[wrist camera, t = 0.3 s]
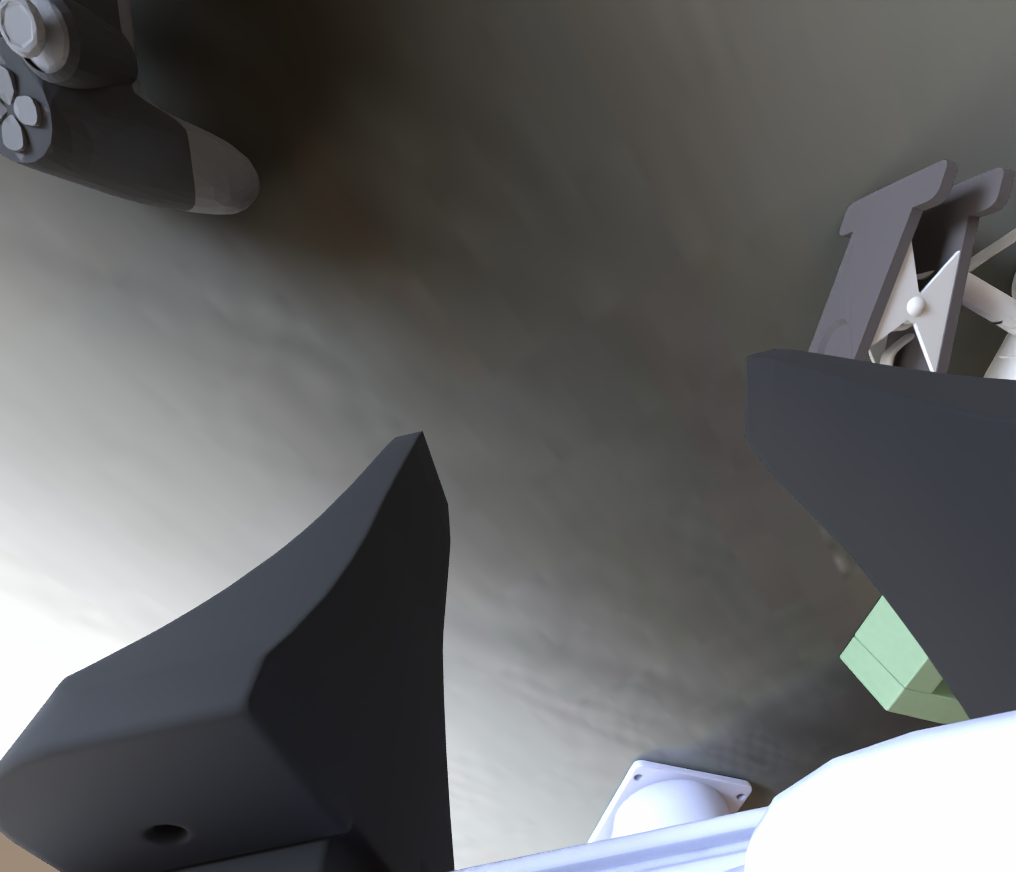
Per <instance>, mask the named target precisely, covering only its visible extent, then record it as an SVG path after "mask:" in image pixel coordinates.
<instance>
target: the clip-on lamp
mask: <svg viewBox="0 0 1016 872" xmlns="http://www.w3.org/2000/svg"><path fill="white" fill-rule="evenodd" d="M957 171H958V165H957V164H956V163H953V162H950V161H947V160H941V161H939V162H937V163H935V164H933V165H930V166H928V167H926V168H924V169H922V170H920V171H918V172H916V173H914V174H912V175H910V176H908V177H905V178H903V179H901V180H899V181H897V182H895V183H893V184H891V185H889V186H887V187H885V188H882V189H880V190H878V191H876V192H874V193H872V194H870V195H868V196H866V197H864V198H862V199H859V200H857V201H855V202H854V203H852V204H851V205H850V206H849V207H848V209H847V211H846V213H845V216H844V219H843V222H842V225H841V228H840V235H842V236H845V237H848V238H851V239H850V242H849V244H848V247H847V250H846V252H845V255H844V258H843V260H842V263H841V266H840V268H839V271H838V274H837V276H836V279H835V282H834V284H833V287H832V290H831V292H830V295H829V298H828V300H827V303H826V306H825V308H824V311H823V314H822V316H821V319H820V322H819V324H818V327H817V330H816V332H815V335H814V338H813V340H812V343H811V346H810V348H809V351H808V352H813V353H819V354H825V355H831V356H837V357H843V358H849V359H855V360H860V361H865V360H866V357H867V355H868V353H869V355H870V358H871V361H872V363H878V364H884V365H890V366H897V367H903V368H910V369H917V370H925V371H932V372H940V373H948V368H949V363H950V358H951V353H952V349H953V344H954V339H955V334H956V329H957V324H958V319H959V315H960V310H961V305H963V306H965V307H967V308H968V309H970V310H972V311H973V312H975V313H977V314H979V315H980V316H982V317H984V318H986V319H987V320H989V321H990V322H992V323H994V324H995V325H997V326H999V327H1001V328H1002V329H1004V330H1005V331H1007V332H1008V334H1007V335H1006V337H1005V339H1004V341H1003V343H1002V344H1001V346H1000V348H999V350H998V352H997V353H996V355H995V357H994V359H993V361H992V362H991V364H990V366H989V368H988V370H987V371H986V373H985V375H984V378H997V379H1010V380H1016V273H1015V275H1014V278H1013V282H1012V297H1013V298H1012V297H1010V296H1008V295H1007V294H1005V293H1003V292H1002V291H1000V290H998V289H997V288H995V287H993V286H991V285H990V284H988V283H986V282H985V281H983V280H981V279H979V278H978V277H976V276H974V275H973V274H971V273H970V272H971V271H973V270H974V269H975V268H977V267H978V266H980V265H981V264H982V263H984V262H985V261H986V260H988V259H989V258H991V257H992V256H994V255H996V254H997V253H999V252H1000V251H1002V250H1003V249H1005V248H1006V247H1008V246H1009V245H1011V244H1013V243H1014V242H1016V229H1014V230H1012V231H1011V232H1009V233H1008V234H1006V235H1005V236H1003V237H1002V238H1000V239H999V240H997V241H996V242H994V243H993V244H991V245H989V246H988V247H986V248H985V249H983V250H982V251H980V252H979V253H977V254H976V255H974V256H973V257H972V258H971V256H972V251H973V247H974V242H975V237H976V232H977V227H978V222H979V217H982V216H985V215H988V214H991V213H994V212H997V211H999V210H1000V209H1002V208H1003V207H1004V206H1005V205H1006V203H1007V201H1008V199H1009V197H1010V193H1011V189H1012V185H1013V181H1014V177H1015V174H1014V171H1012V170H1010V169H1005V168H995V169H993V170H990V171H988V172H985V173H983V174H980V175H978V176H976V177H973V178H971V179H968V180H966V181H963V182H961V183H959V184H956V185H954V186H953V183H954V180H955V177H956V174H957Z"/></svg>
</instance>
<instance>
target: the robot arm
mask: <svg viewBox="0 0 1016 872" xmlns="http://www.w3.org/2000/svg"><path fill="white" fill-rule="evenodd" d="M744 437H745V438H746V440H747V441H748V443H749V444H750V446H751V447H752V449H753V450H754V452H755V453H756V455H757V456H758V457H759V459H760V460H761V461H762V463H763V464H764V465H765V467H766V468H767V469H768V471H769V472H770V473H771V474H772V475H773V476H774V477H775V478H776V479H777V480H778V481H779V482H780V483H781V484H782V485H783V486H784V487H785V489H786V490H787V491H788V492H789V493H790V494H791V495H792V496H793V497H794V498H795V499H796V500H797V501H798V502H799V503H800V504H801V505H802V506H803V507H804V508H805V509H806V510H807V511H808V512H809V513H810V514H811V515H812V516H813V517H814V518H815V519H816V520H817V521H818V522H819V523H820V524H821V525H822V526H823V527H824V528H825V529H826V530H827V531H828V532H829V533H830V534H831V535H832V536H833V537H834V538H835V539H836V540H837V541H838V542H839V543H840V545H841V546H842V547H843V548H844V549H845V550H846V551H847V552H848V553H849V555H850V556H851V557H852V558H853V559H854V560H855V561H856V562H857V564H858V565H859V566H860V568H861V569H862V570H863V571H864V573H865V574H866V575H867V576H868V578H869V579H870V580H871V581H872V583H873V584H874V585H875V587H876V588H877V589H878V590H879V592H880V593H881V594H882V595H883V597H884V598H885V599H886V600H887V602H888V603H889V604H890V606H891V607H892V608H893V610H894V611H895V613H896V614H897V615H898V617H899V618H900V619H901V621H902V622H903V623H904V625H905V626H906V627H907V629H908V630H909V632H910V633H911V634H912V636H913V637H914V638H915V640H916V641H917V642H918V644H919V645H920V646H921V648H922V649H923V651H924V652H925V654H926V655H927V656H928V658H929V659H930V661H931V662H932V664H933V665H934V667H935V668H936V670H937V671H938V673H939V674H940V675H941V677H942V678H943V680H944V681H945V683H946V684H947V686H948V687H949V689H950V690H951V691H952V693H953V694H954V696H955V697H956V699H957V700H958V702H959V703H960V705H961V706H962V708H963V709H964V711H965V712H966V714H967V716H968V717H969V719H970V720H966V721H962V722H957V723H952V724H947V725H942V726H938V727H933V728H928V729H923V730H918V731H914V732H910V733H907V734H904V735H901V736H898V737H896V738H893V739H890V740H887V741H884V742H881V743H878V744H875V745H872V746H869V747H866V748H863V749H860V750H857V751H854V752H851V753H848V754H845V755H842V756H839V757H836V758H833V759H832V760H830V761H829V762H827V763H825V764H824V765H822V766H821V767H819V768H818V769H816V770H815V771H813V772H812V773H810V774H809V775H807V776H806V777H804V778H803V779H801V780H800V781H798V782H797V783H795V784H793V785H792V786H790V787H789V788H787V789H786V790H784V791H783V792H781V793H780V794H778V795H777V796H775V797H774V799H773V800H772V802H771V804H770V805H769V806H767V807H762V808H757V809H752V810H747V811H743V812H738V810H739V809H740V807H741V806H742V804H743V803H744V802H745V800H746V799H747V797H748V796H749V795H750V793H751V791H752V787H751V785H750V783H749V782H748V781H746V780H742V779H736V778H731V777H726V776H721V775H716V774H711V773H706V772H701V771H696V770H691V769H686V768H680V767H675V766H670V765H665V764H660V763H655V762H650V761H645V760H638V761H636V762H634V763H633V765H632V766H631V768H630V770H629V772H628V773H627V775H626V777H625V778H624V780H623V782H622V784H621V785H620V787H619V789H618V791H617V792H616V794H615V796H614V798H613V799H612V801H611V803H610V805H609V806H608V808H607V810H606V812H605V813H604V815H603V817H602V818H601V820H600V822H599V824H598V825H597V827H596V829H595V831H594V832H593V834H592V836H591V838H590V839H589V841H588V843H587V844H582V845H577V846H572V847H567V848H562V849H558V850H553V851H548V852H543V853H538V854H533V855H528V856H523V857H519V858H514V859H509V860H504V861H499V862H494V863H489V864H484V865H480V866H475V867H470V868H465V869H460V870H455V871H454V858H453V845H452V832H451V819H450V805H449V788H448V772H447V755H446V734H445V711H444V683H443V629H444V616H445V604H446V592H447V580H448V567H449V554H450V526H449V512H448V503H447V500H446V497H445V494H444V491H443V489H442V486H441V483H440V480H439V477H438V474H437V471H436V468H435V466H434V463H433V460H432V457H431V454H430V451H429V448H428V445H427V443H426V440H425V437H424V434H423V431H421V432H417V433H413V434H408V435H404V436H400V437H396V438H395V439H393V440H392V441H391V442H390V443H389V444H388V445H387V446H386V447H385V448H384V449H383V451H382V452H381V453H380V454H379V455H378V456H377V457H376V458H375V459H374V461H373V462H372V463H371V464H370V465H369V466H368V467H367V468H366V469H365V470H364V472H363V473H362V474H361V475H360V476H359V477H358V478H357V479H356V480H355V481H354V483H353V484H352V485H351V486H350V487H349V488H348V489H347V490H346V491H345V492H344V493H343V494H342V495H341V496H340V497H339V498H338V499H337V500H336V501H335V502H334V503H333V504H332V505H331V506H330V507H329V508H328V509H327V510H326V511H325V512H324V513H323V514H322V515H321V516H320V517H318V518H317V519H316V520H315V521H314V522H313V523H312V524H311V525H310V526H308V527H307V528H306V529H305V530H304V531H303V532H302V533H300V534H299V535H298V536H297V537H295V538H294V539H293V540H292V541H291V542H289V543H288V544H287V545H286V546H284V547H283V548H282V549H281V550H279V551H278V552H277V553H276V554H274V555H273V556H272V557H270V558H269V559H267V560H266V561H264V562H263V563H262V564H260V565H259V566H257V567H256V568H255V569H253V570H252V571H250V572H249V573H248V574H246V575H245V576H243V577H242V578H240V579H239V580H238V581H236V582H235V583H233V584H232V585H231V586H229V587H228V588H226V589H225V590H223V591H221V592H220V593H218V594H217V595H215V596H214V597H212V598H210V599H209V600H207V601H206V602H204V603H202V604H201V605H199V606H198V607H196V608H194V609H193V610H191V611H189V612H187V613H186V614H184V615H182V616H181V617H179V618H177V619H176V620H174V621H172V622H171V623H169V624H167V625H165V626H164V627H162V628H160V629H158V630H156V631H155V632H153V633H151V634H149V635H147V636H146V637H144V638H142V639H140V640H138V641H136V642H134V643H132V644H130V645H128V646H126V647H124V648H123V649H121V650H119V651H117V652H115V653H113V654H111V655H109V656H107V657H105V658H103V659H102V660H100V661H98V662H96V663H94V664H92V665H90V666H88V667H86V668H84V669H82V670H80V671H78V672H76V673H74V674H72V675H70V676H68V677H66V678H65V679H64V680H63V681H62V682H61V683H60V684H59V685H58V687H57V688H56V689H55V691H54V692H53V693H52V695H51V696H50V697H49V699H48V700H47V701H46V703H45V704H44V705H43V707H42V708H41V709H40V710H39V712H38V713H37V714H36V716H35V717H34V718H33V720H32V721H31V722H30V723H29V725H28V726H27V727H26V729H25V730H24V731H23V732H22V734H21V735H20V736H19V738H18V739H17V740H16V741H15V743H14V744H13V745H12V747H11V748H10V749H9V750H8V752H7V753H6V754H5V756H4V757H3V758H2V760H1V761H0V832H1V833H2V834H4V835H5V836H6V837H8V838H9V839H10V840H11V841H13V842H14V843H15V844H17V845H19V846H20V847H22V848H23V849H25V850H26V851H28V852H30V853H31V854H33V855H35V856H36V857H38V858H39V859H41V860H43V861H44V862H46V863H47V864H49V865H51V866H52V867H54V868H56V869H57V870H59V871H60V872H1016V380H1010V379H997V378H984V377H974V376H964V375H955V374H947V373H940V372H932V371H925V370H917V369H910V368H903V367H897V366H890V365H884V364H878V363H872V362H866V361H860V360H855V359H849V358H843V357H837V356H831V355H825V354H819V353H813V352H805V351H798V350H787V349H774V350H769V351H765V352H761V353H757V354H752V355H748V356H747V374H746V405H745V436H744ZM737 812H738V813H737Z"/></svg>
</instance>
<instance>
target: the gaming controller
mask: <svg viewBox="0 0 1016 872" xmlns="http://www.w3.org/2000/svg"><path fill="white" fill-rule="evenodd" d="M0 154H2V155H3V156H5V157H7V158H9V159H10V160H12V161H14V162H17V163H19V164H22V165H24V166H27V167H30V168H32V169H35V170H38V171H41V172H44V173H47V174H50V175H53V176H56V177H59V178H62V179H65V180H68V181H71V182H74V183H77V184H80V185H83V186H86V187H89V188H92V189H95V190H98V191H101V192H104V193H107V194H110V195H114V196H117V197H121V198H124V199H128V200H131V201H135V202H139V203H143V204H149V205H154V206H159V207H164V208H169V209H174V210H180V211H187V212H193V213H205V214H217V215H221V214H236V213H238V212H241V211H244V210H246V209H247V208H248V207H249V206H250V205H251V204H252V203H253V202H254V201H255V199H256V198H257V196H258V194H259V192H260V180H259V176H258V174H257V172H256V170H255V169H254V167H253V165H252V164H251V162H250V160H249V159H248V158H247V157H246V156H244V155H243V154H242V153H241V152H240V151H238V150H237V149H236V148H235V147H234V146H232V145H231V144H229V143H228V142H226V141H225V140H223V139H221V138H219V137H217V136H215V135H213V134H211V133H209V132H207V131H205V130H203V129H201V128H199V127H197V126H195V125H192V124H190V123H188V122H186V121H184V120H182V119H179V118H177V117H175V116H173V115H171V114H169V113H167V112H165V111H164V110H162V109H160V108H159V107H157V106H156V105H154V104H153V103H152V102H150V101H149V100H148V99H147V98H146V97H145V95H144V94H143V93H142V91H141V90H140V85H139V80H138V66H137V59H136V53H135V44H134V34H133V26H132V17H131V9H130V1H129V0H0Z"/></svg>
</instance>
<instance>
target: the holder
mask: <svg viewBox="0 0 1016 872" xmlns="http://www.w3.org/2000/svg"><path fill="white" fill-rule="evenodd" d="M840 658H841V660H842V661H843V662H844V663H845V664H846V665H847V666H848V668H849V669H850V670H851V671H852V672H853V673H854V674H855V675H856V677H857V678H858V679H859V680H860V681H861V682H862V683H863V685H864V686H865V687H866V688H867V689H868V690H869V691H870V693H871V694H872V695H873V696H874V697H875V698H876V699H877V701H878V702H879V703H880V704H881V705H882V706H883V707H884V709H885V710H887V711H890V712H894V713H898V714H903V715H907V716H911V717H916V718H920V719H924V720H929V721H933V722H937V723H942V724H946V725H947V724H952V723H957V722H962V721H966V720H970V719H969V717H968V716H967V714H966V712H965V711H964V709H963V708H962V706H961V705H960V703H959V702H958V700H957V699H956V697H955V696H954V694H953V693H952V691H951V690H950V689H949V687H948V686H947V684H946V683H945V681H944V680H943V678H942V677H941V675H940V674H939V673H938V671H937V670H936V668H935V667H934V665H933V664H932V662H931V661H930V659H929V658H928V656H927V655H926V654H925V652H924V651H923V649H922V648H921V646H920V645H919V644H918V642H917V641H916V640H915V638H914V637H913V636H912V634H911V633H910V632H909V630H908V629H907V627H906V626H905V625H904V623H903V622H902V621H901V619H900V618H899V617H898V615H897V614H896V613H895V611H894V610H893V608H892V607H891V606H890V604H889V603H888V602H887V600H886V599H885V598H884V597H883V595H882V597H881V598H880V599H879V601H878V602H877V604H876V605H875V607H874V608H873V609H872V611H871V612H870V614H869V615H868V617H867V618H866V619H865V621H864V622H863V624H862V625H861V627H860V628H859V629H858V631H857V632H856V634H855V637H853V638H852V640H851V641H850V643H849V644H848V645H847V647H846V648H845V650H844V651H843V653H842V654H841V655H840Z"/></svg>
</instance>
